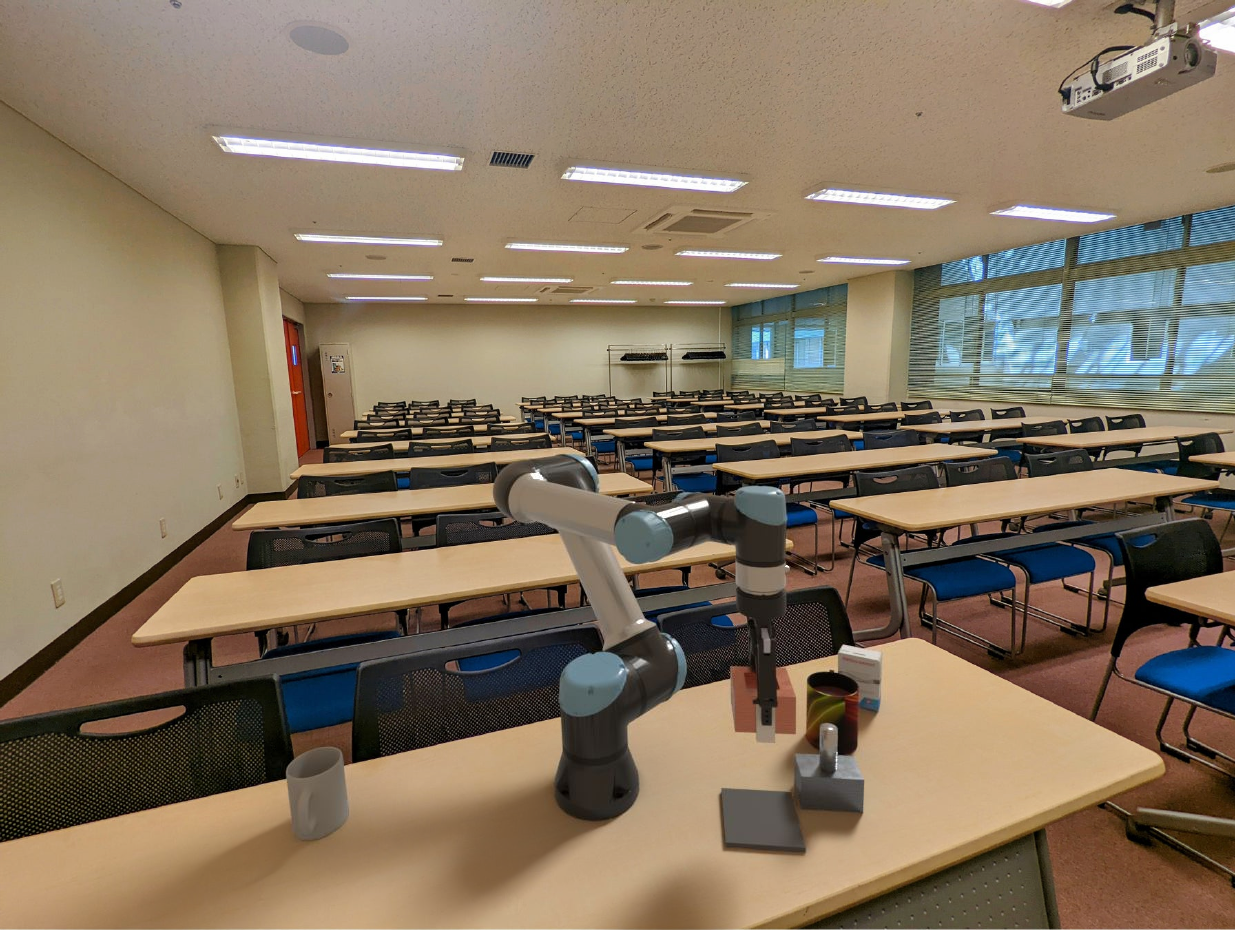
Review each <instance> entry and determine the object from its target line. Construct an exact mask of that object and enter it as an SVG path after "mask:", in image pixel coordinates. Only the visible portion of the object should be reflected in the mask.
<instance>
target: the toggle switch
mask: <svg viewBox="0 0 1235 930" xmlns="http://www.w3.org/2000/svg"><path fill="white" fill-rule="evenodd" d="M837 740H838V729H837V727H836V726H835V725H833V724H829V723H823V724H821V725H820V751H819V754H818V753H817V754H816V753H796V752H795V753H794V775H793V776H794V777H793V778H794V779H793V780H794V781H793V782H794V783H793V784H794V788H795V791H796V796H797V799H798V803H799V807H800V810H808V811H809V810H811V811H827V812H843V813H846V812H847V813H861V814H863V813H864V804H865V803H864V800H865V799H864V797H865V779H864V776H863V774H862V771H861V770H860V767H859V765H858V763H857V761H856V758H855V756H854V755H837Z"/></svg>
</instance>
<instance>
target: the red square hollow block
mask: <svg viewBox="0 0 1235 930" xmlns="http://www.w3.org/2000/svg"><path fill="white" fill-rule="evenodd" d="M729 668H730V669H729V670H730V673H729V674H730V704H731V712H732V719H733V720H732V721H733V726H734V727H733V728H734V732H735V733H750V734H751V733H753V734H754V733H755V734H756V704H753V700H756V699H757V679H756V667H752V666H739V665H738V666H737V665H735V666H732V665H731V666H729ZM776 683H777V701H778V707H777V708H775V735H777V734H780V735H796V734H797V696H796V693H795V691H794V687H793V684H792V681H791V677H790V676H789V673H788V670H787V667H777V666H776Z"/></svg>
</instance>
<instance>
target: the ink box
mask: <svg viewBox="0 0 1235 930" xmlns="http://www.w3.org/2000/svg"><path fill="white" fill-rule="evenodd" d="M882 667H883V652H881V651H876V650H870V649H866V648H862V647H858V646H857V647H856V646H852V645H846V644H842V645H841V647H840V648H839V650H838V652H837V673H840V674H843V675H846V676H848V677H850V678H852V679H853V680H855V681H856V682H857V684H858V685H859V708H862V709H867V710H870V711H874V712H879V711H880V705H881V702H882V701H881V699H882V677H883V676H882V672H883V671H882V670H883V668H882Z"/></svg>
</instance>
